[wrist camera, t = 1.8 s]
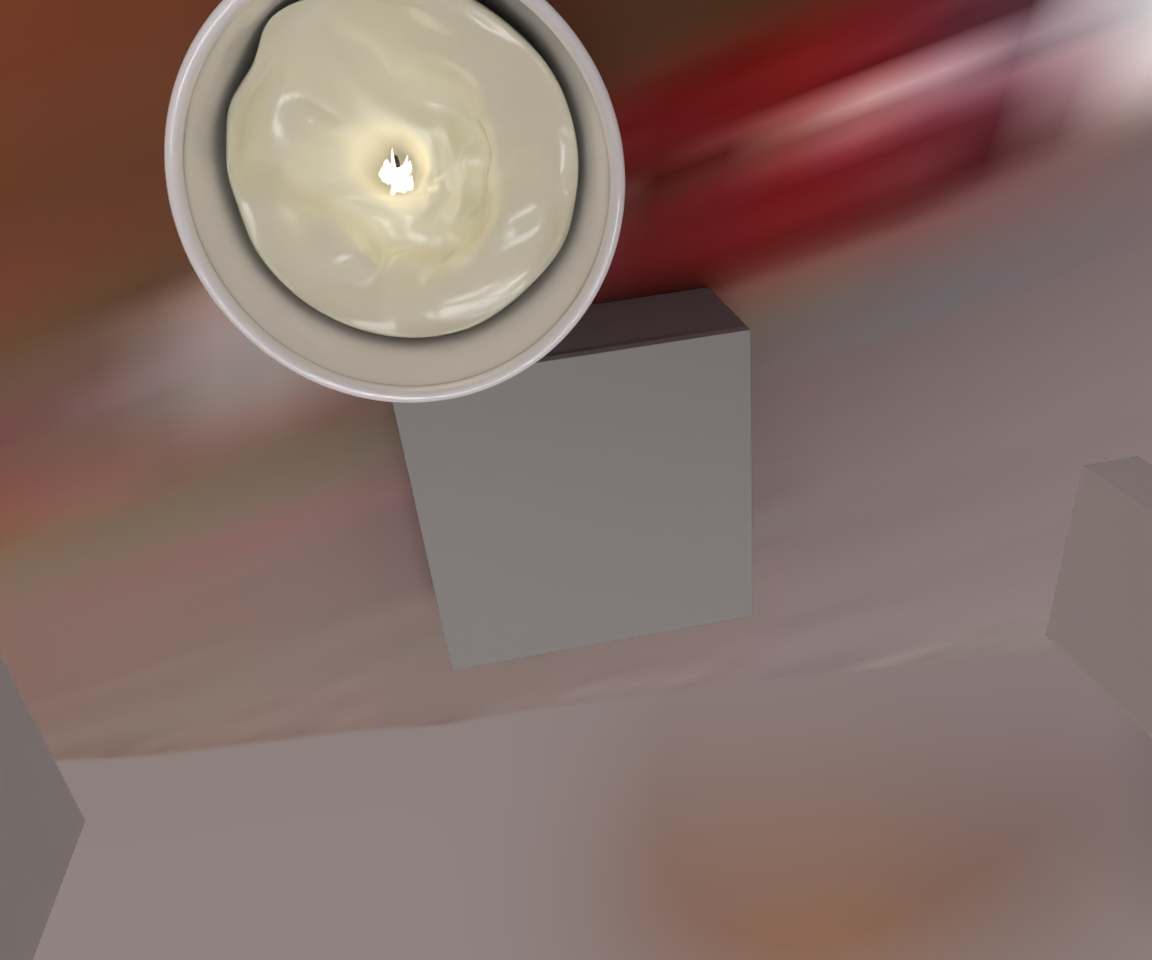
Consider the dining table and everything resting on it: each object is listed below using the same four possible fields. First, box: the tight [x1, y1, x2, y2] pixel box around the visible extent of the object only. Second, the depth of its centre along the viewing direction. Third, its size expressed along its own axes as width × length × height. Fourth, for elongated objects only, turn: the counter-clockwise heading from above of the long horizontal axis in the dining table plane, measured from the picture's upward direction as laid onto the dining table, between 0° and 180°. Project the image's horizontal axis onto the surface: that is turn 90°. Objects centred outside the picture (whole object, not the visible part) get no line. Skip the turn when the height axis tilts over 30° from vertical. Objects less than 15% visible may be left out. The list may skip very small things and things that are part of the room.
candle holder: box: [164, 0, 625, 403], centre depth 25 cm, size 10×10×12 cm
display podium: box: [393, 287, 753, 671], centre depth 34 cm, size 12×12×5 cm
